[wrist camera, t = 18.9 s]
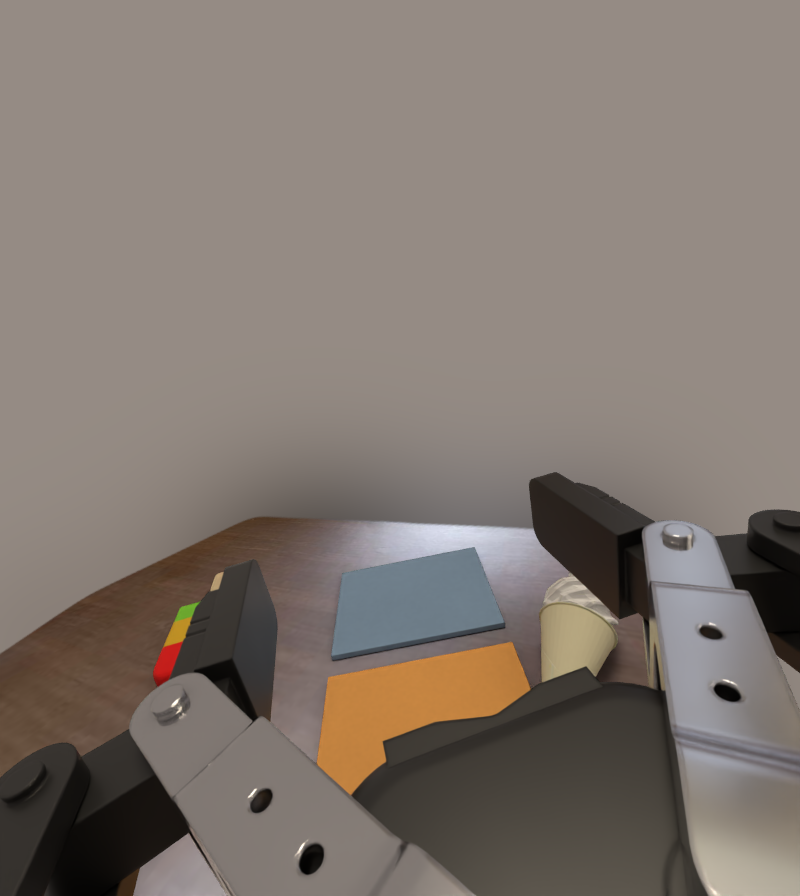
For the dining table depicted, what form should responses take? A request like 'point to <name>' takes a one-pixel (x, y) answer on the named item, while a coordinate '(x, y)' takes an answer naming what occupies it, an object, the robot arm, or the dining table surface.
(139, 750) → the robot arm
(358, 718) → the caramel pad
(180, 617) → the popsicle
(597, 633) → the ice cream cone
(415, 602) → the slate pad
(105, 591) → the dining table surface
